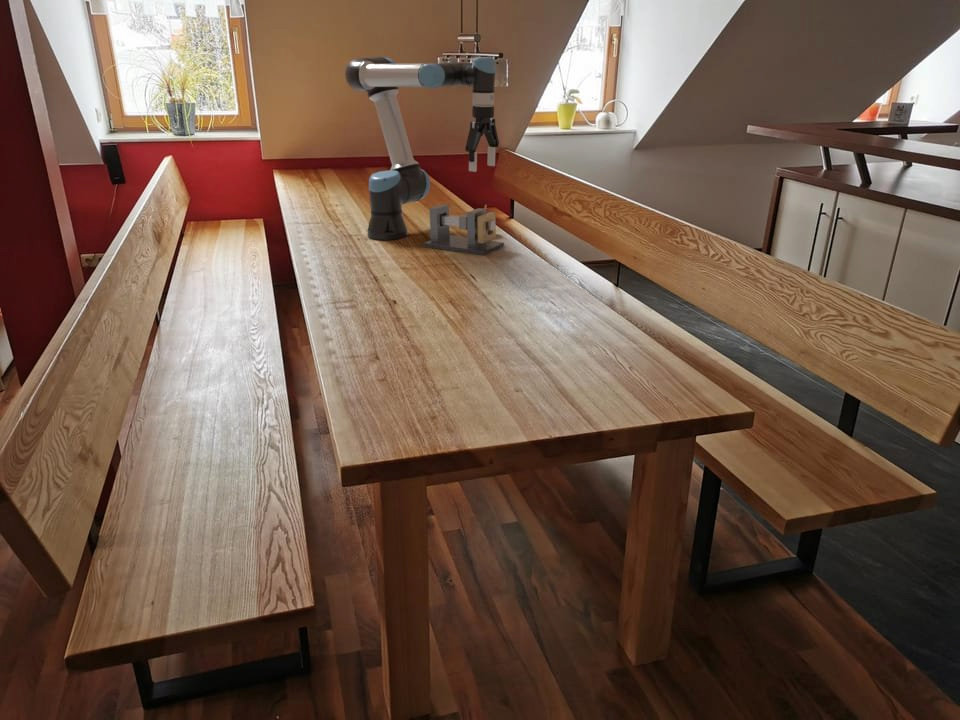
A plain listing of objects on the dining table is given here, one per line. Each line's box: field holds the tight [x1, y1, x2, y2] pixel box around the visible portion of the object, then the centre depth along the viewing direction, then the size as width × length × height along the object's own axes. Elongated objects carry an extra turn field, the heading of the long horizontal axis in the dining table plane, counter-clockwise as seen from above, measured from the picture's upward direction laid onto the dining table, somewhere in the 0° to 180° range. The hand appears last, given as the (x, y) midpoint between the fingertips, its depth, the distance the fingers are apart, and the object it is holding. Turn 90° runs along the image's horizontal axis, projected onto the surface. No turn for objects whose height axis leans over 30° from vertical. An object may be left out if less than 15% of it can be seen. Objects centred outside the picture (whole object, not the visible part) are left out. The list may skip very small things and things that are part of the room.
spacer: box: [478, 211, 497, 243], centre depth 262 cm, size 2×9×9 cm, turn 150°
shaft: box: [440, 213, 495, 231], centre depth 266 cm, size 24×4×4 cm, turn 60°
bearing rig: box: [423, 203, 505, 256], centre depth 267 cm, size 25×14×14 cm, turn 60°
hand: (482, 168), depth 267 cm, fingers open, 13 cm apart
